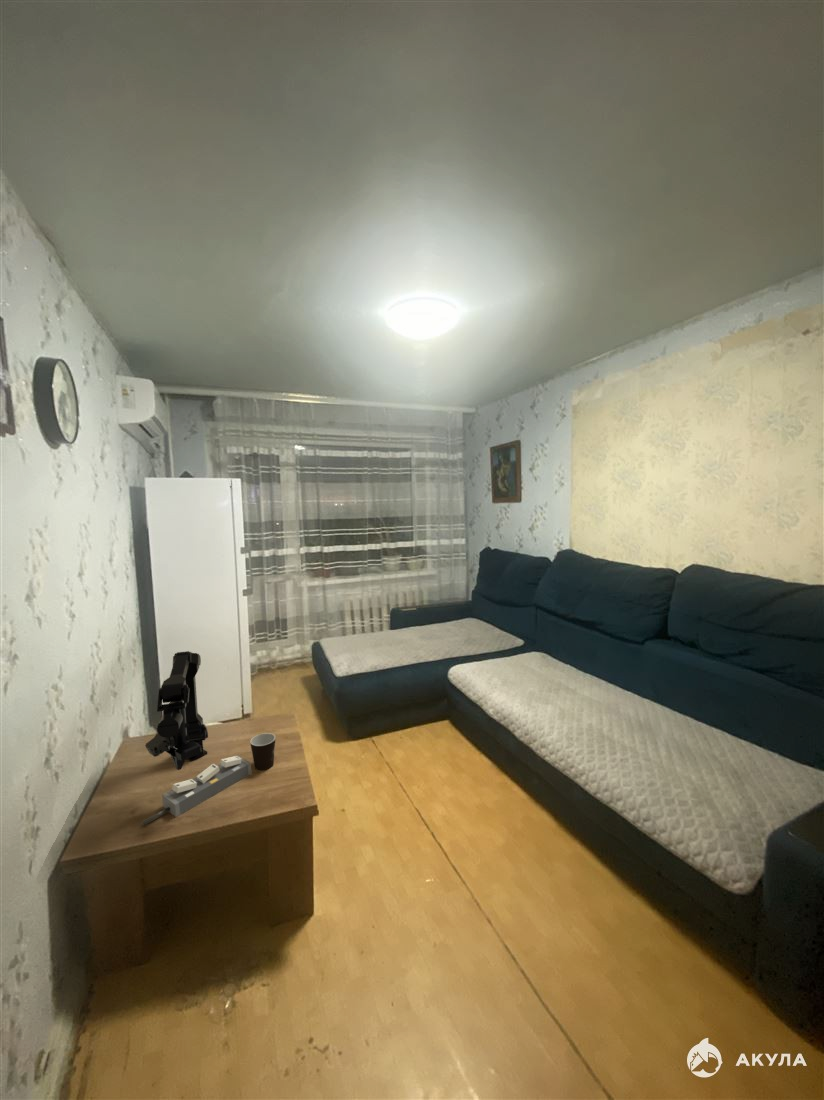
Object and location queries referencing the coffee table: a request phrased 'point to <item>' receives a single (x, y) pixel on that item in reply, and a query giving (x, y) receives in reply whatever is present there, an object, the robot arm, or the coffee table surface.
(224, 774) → the power strip
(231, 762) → the block
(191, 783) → the white rectangular block
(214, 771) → the block
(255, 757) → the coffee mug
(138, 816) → the coffee table surface
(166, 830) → the coffee table surface
